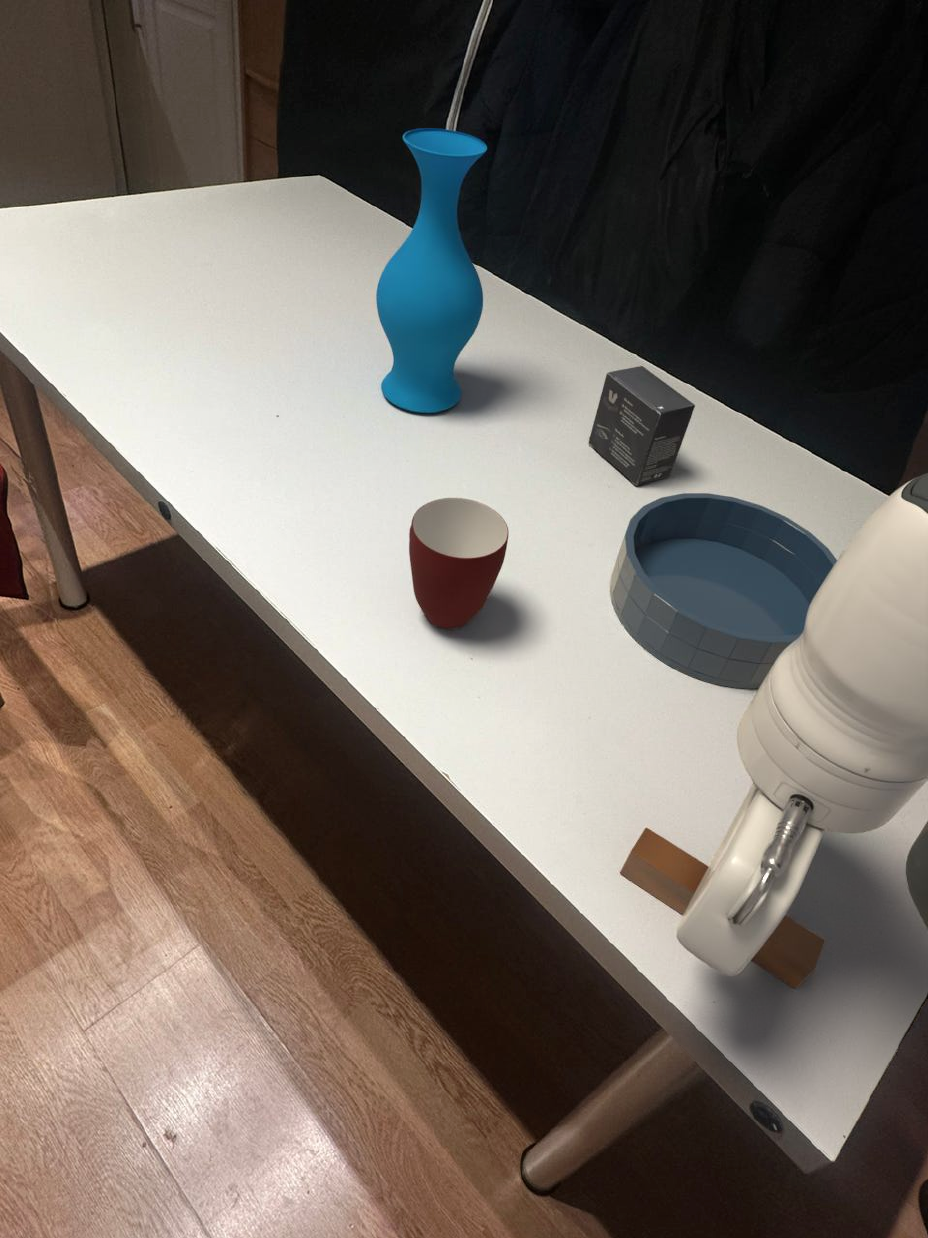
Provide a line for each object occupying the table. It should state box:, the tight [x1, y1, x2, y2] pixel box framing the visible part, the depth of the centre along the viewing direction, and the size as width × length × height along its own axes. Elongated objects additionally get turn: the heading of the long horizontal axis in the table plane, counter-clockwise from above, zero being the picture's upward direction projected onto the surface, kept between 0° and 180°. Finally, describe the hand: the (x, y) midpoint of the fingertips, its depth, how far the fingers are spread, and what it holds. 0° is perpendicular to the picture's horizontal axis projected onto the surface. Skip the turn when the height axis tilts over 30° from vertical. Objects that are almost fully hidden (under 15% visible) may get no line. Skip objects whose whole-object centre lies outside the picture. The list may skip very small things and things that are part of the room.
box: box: [587, 365, 696, 486], centre depth 93 cm, size 9×6×10 cm, turn 31°
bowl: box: [609, 492, 838, 690], centre depth 77 cm, size 21×21×6 cm
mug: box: [408, 497, 509, 630], centre depth 71 cm, size 11×8×10 cm
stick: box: [619, 827, 826, 990], centre depth 55 cm, size 13×2×3 cm, turn 55°
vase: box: [375, 127, 488, 414], centre depth 91 cm, size 12×13×28 cm
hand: (733, 871), depth 52 cm, fingers open, 8 cm apart
